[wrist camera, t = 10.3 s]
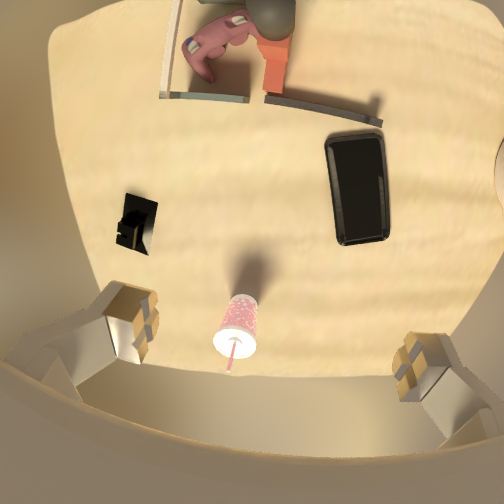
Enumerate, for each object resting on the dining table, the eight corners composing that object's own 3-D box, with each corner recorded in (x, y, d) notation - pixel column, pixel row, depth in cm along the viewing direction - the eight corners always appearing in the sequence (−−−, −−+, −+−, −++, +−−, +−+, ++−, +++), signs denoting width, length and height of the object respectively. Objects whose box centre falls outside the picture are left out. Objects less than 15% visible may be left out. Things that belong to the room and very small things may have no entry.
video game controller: (262, 28, 30) (243, -4, 23) (278, 50, 29) (260, 17, 23) (197, 66, 33) (169, 41, 26) (209, 88, 33) (179, 64, 26)
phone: (337, 247, 40) (323, 139, 34) (336, 243, 41) (322, 138, 35) (390, 239, 39) (383, 133, 32) (388, 236, 40) (381, 132, 33)
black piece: (124, 181, 41) (109, 190, 37) (167, 195, 41) (154, 206, 37) (116, 248, 47) (103, 262, 43) (154, 263, 47) (142, 278, 43)
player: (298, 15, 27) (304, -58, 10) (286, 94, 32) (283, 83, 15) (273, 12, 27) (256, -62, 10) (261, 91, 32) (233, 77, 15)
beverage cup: (263, 319, 49) (254, 386, 37) (228, 319, 50) (210, 383, 38) (260, 290, 46) (249, 357, 34) (222, 290, 47) (200, 354, 35)
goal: (264, 0, 26) (256, -27, 18) (248, 103, 33) (236, 103, 26) (201, -2, 27) (178, -25, 19) (187, 98, 34) (158, 98, 26)
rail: (376, 118, 32) (383, 120, 29) (374, 125, 33) (381, 127, 30) (266, 95, 33) (264, 94, 30) (265, 103, 33) (263, 103, 31)
